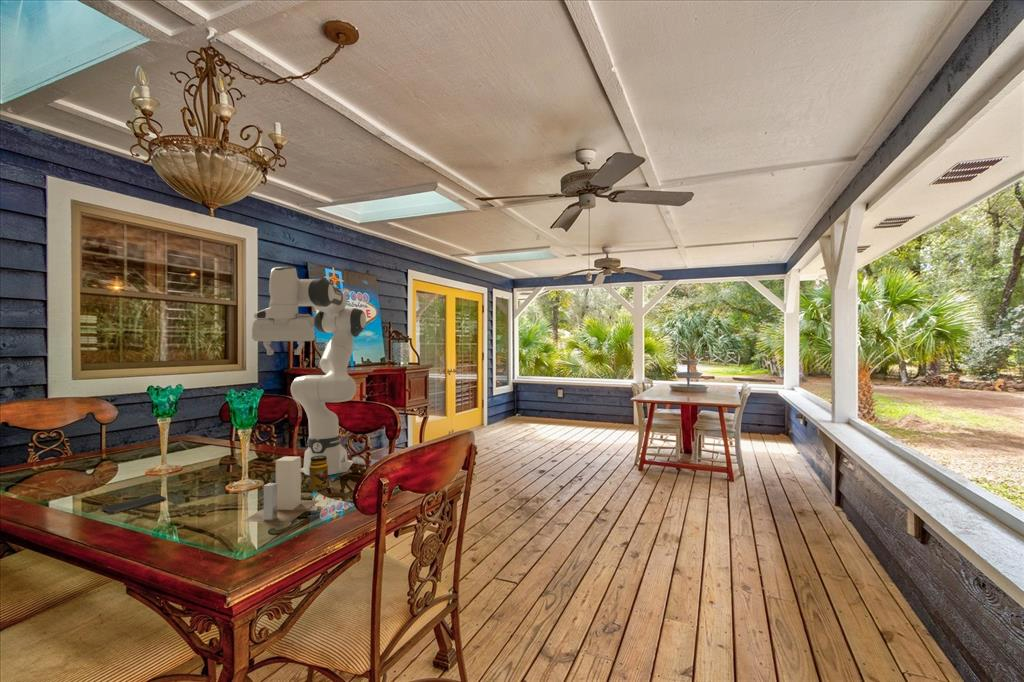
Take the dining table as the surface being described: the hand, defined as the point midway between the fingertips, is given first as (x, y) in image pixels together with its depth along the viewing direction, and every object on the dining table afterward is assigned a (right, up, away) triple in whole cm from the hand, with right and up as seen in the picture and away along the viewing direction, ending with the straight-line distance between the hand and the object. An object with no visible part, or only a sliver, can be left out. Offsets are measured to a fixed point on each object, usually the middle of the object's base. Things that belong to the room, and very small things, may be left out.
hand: (283, 354), depth 159 cm
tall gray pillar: (+8, -47, -13) cm, 49 cm away
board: (+7, -48, -16) cm, 51 cm away
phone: (-44, -49, -8) cm, 66 cm away
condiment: (+8, -48, +6) cm, 49 cm away
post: (+7, -47, -23) cm, 53 cm away
